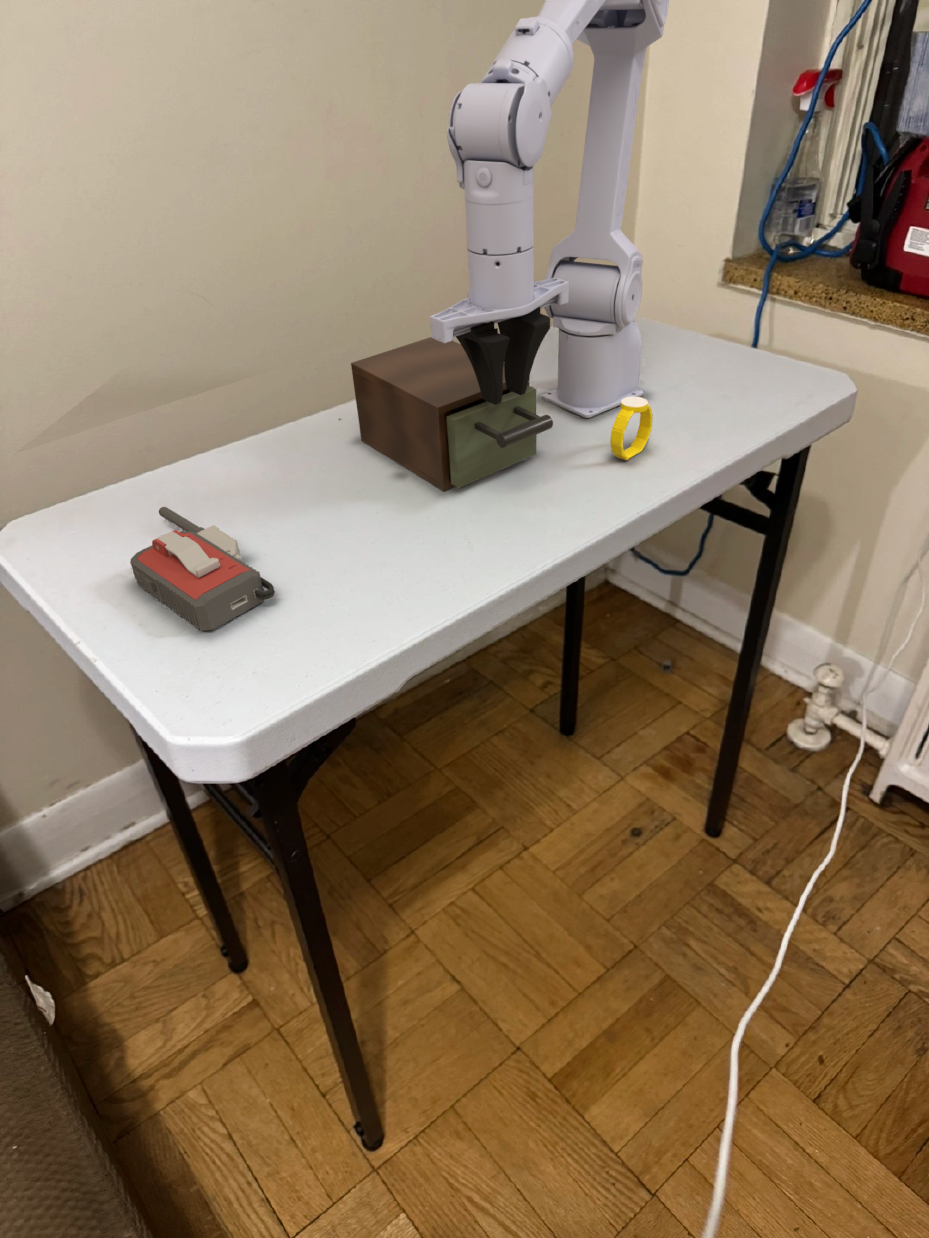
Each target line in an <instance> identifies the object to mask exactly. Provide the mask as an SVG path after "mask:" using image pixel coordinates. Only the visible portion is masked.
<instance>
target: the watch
mask: <svg viewBox="0 0 929 1238" xmlns="http://www.w3.org/2000/svg"><path fill="white" fill-rule="evenodd" d="M619 406H620V411H619V412H618V413H617V416H616V417H615V419H614V421H613V425H612V427H611V432H610V439H609V441H610V442H609V444H610V449H611V453H612V454H613V455H614V456H615V458H618V459H621V460H624V461H629V460H630V459H631V458H633V457H635V456H636V455H639V454H640V453H641V452H643V450H644V448H645V447H646V445H647V443H648V441H649V438H650V435H651V433H652V429H653V419H654V416H653V411H652V407H651V406H650V405H649V401H648V400H647V399H646V398H643V397H642V396H640V397H634V396H633V397H626V398H623V399H622V400H621V405H619ZM639 413H640V414H639ZM634 414H639V415H640V416H639V426H638V428H637V432H636V435H635V438H634V439H633V441H632V443H631V445H630V446H629V447H627V448H625V449H624V445H623V444H624V440H625V439H624V437H625V432H626V430H627V427H628V424H629V421H630V420H631V419H632V417H633V416H634Z"/></svg>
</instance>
